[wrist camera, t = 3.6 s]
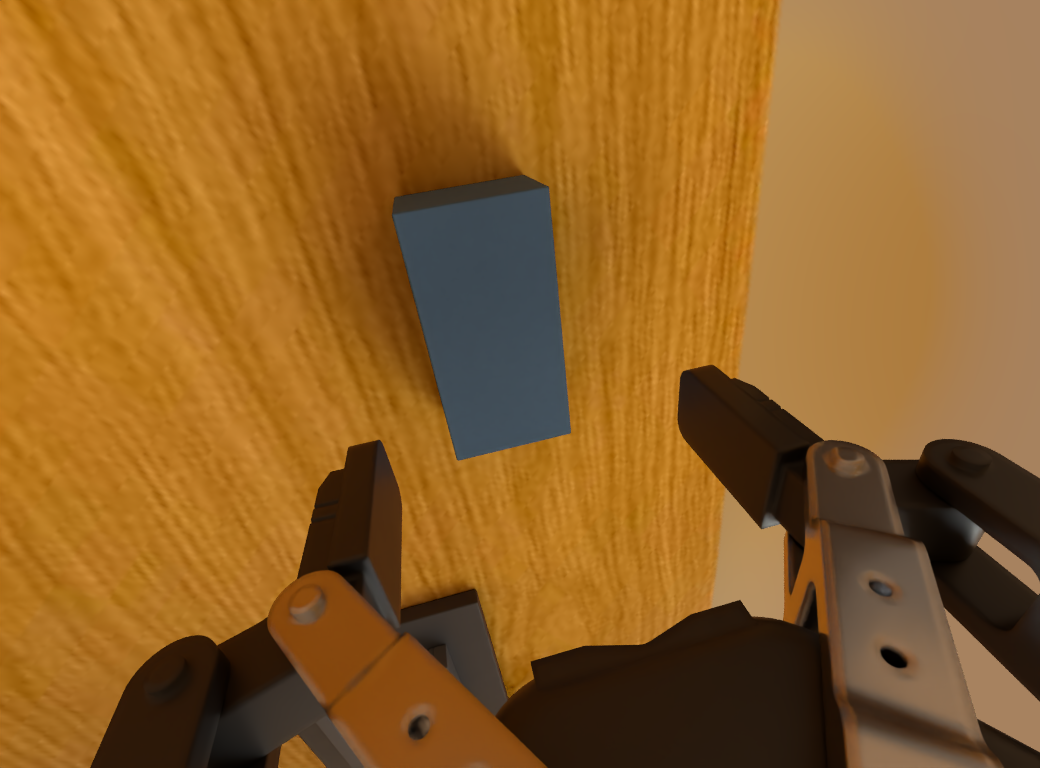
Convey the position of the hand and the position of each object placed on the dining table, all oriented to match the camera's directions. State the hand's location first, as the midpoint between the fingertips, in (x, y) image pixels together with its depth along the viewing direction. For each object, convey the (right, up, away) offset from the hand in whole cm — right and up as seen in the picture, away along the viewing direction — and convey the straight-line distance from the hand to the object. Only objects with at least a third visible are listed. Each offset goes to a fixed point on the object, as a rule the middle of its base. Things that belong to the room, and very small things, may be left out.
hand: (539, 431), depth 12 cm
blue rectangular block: (-2, +4, +8) cm, 9 cm away
